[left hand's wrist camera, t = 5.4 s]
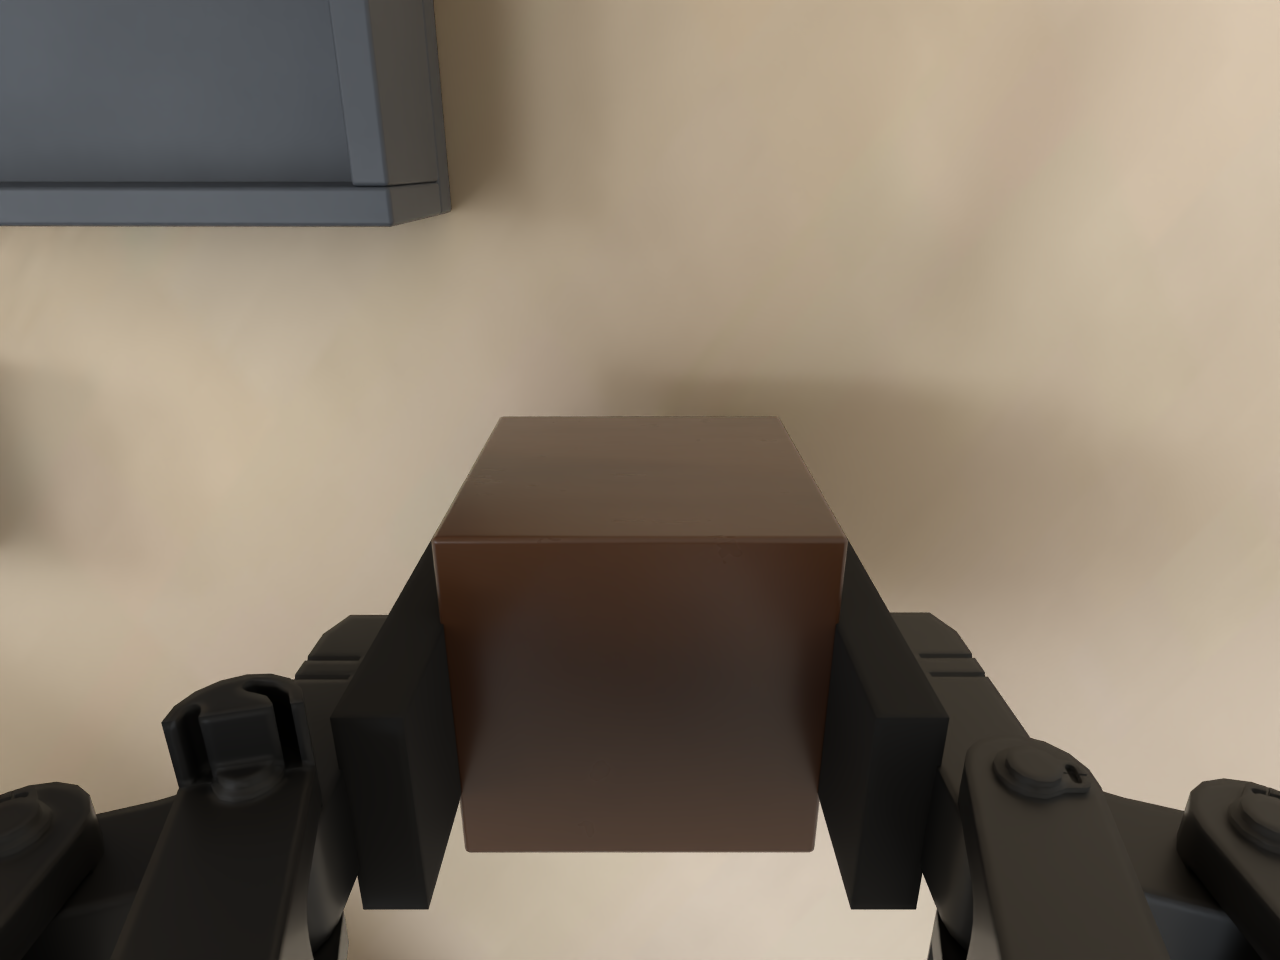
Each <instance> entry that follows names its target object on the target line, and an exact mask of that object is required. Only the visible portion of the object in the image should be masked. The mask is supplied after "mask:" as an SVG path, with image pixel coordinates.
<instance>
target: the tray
mask: <svg viewBox="0 0 1280 960" xmlns="http://www.w3.org/2000/svg"><path fill="white" fill-rule="evenodd" d="M450 211H451V200H450V189H449V177H448V166H447V154H446V143H445V131H444V120H443V108H442V97H441V85H440V74H439V62H438V51H437V39H436V28H435V16H434V5H433V0H0V226H257V227H391V226H395V225H399V224H403V223H407V222H412V221H416V220H420V219H424V218H428V217H432V216H436V215H440V214H444V213H448V212H450Z"/></svg>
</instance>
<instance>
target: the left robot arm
mask: <svg viewBox="0 0 1280 960" xmlns="http://www.w3.org/2000/svg"><path fill="white" fill-rule="evenodd" d="M841 529H842V528H841ZM845 536H846V535H845ZM846 538H847V537H846ZM847 540H848V539H847ZM161 723H162V727H163V730H164V734H165V738H166V741H167V745H168V749H169V753H170V756H171V760H172V764H173V767H174V771H175V775H176V778H177V782H178V786H179V790H178V792H177V795H175V796H171V797H168V798H164V799H161V800H158V801H154V802H149V803H145V804H140V805H136V806H131V807H127V808H122V809H118V810H114V811H109V812H105V813H100V814H96V813H95V810H94V807H93V804H92V801H91V798H90V795H89V794H88V793H86V792H85V791H84V790H83V789H82V788H80V787H79V786H78V785H73V784H67V783H61V782H52V783H45V784H37V785H29V786H26V787H23V788H20V789H16V790H14V791H10V792H7V793H5V794H2V795H0V960H347V954H348V944H349V941H348V934H347V927H346V921H345V916H344V911H343V910H344V907H345V905H346V902H347V900H348V897H349V895H350V892H351V890H352V887H353V885H354V882H355V880H356V877H357V876H358V881H359V887H360V893H361V898H362V904H363V909H429V905H430V902H431V898H432V895H433V891H434V888H435V885H436V881H437V878H438V874H439V871H440V867H441V864H442V860H443V857H444V853H445V850H446V846H447V843H448V839H449V836H450V832H451V829H452V825H453V822H454V818H455V815H456V811H457V808H458V805H459V801H460V798H461V794H462V792H461V783H460V774H459V764H458V755H457V746H456V737H455V727H454V718H453V709H452V700H451V690H450V681H449V672H448V663H447V653H446V644H445V635H444V626H443V624H441V622H440V614H439V605H438V596H437V587H436V578H435V569H434V560H433V551H432V540H431V541H430V543H429V545H428V547H427V548H426V550H425V552H424V554H423V555H422V557H421V559H420V561H419V562H418V564H417V566H416V568H415V569H414V571H413V573H412V575H411V576H410V578H409V580H408V582H407V583H406V585H405V587H404V589H403V590H402V592H401V594H400V596H399V597H398V599H397V601H396V603H395V604H394V606H393V608H392V610H391V611H390V613H389V615H350V616H348V617H347V618H345V619H344V620H343V621H341V622H340V623H338V624H337V625H335V626H334V627H333V628H331V629H330V630H328V631H327V632H326V633H324V634H323V635H322V637H321V638H320V640H319V641H318V642H317V644H316V645H315V647H314V648H313V650H312V651H311V653H310V654H309V655H308V661H304V663H303V664H302V666H301V667H300V669H299V670H298V671H297V673H296V674H295V680H291V679H290V678H286V677H282V676H278V675H274V674H248V675H243V676H239V677H234V678H230V679H226V680H221V681H219V682H216V683H214V684H212V685H210V686H207V687H205V688H203V689H200V690H198V691H196V692H194V693H193V694H191V695H190V696H188V697H187V698H185V699H184V700H183V701H181V702H180V703H178V704H177V705H175V706H174V707H173V709H172V710H171V711H170V712H169V714H168V715H167V716H166V717H165V719H164V720H163V721H162V722H161ZM818 796H819V800H820V803H821V807H822V810H823V814H824V817H825V820H826V824H827V827H828V831H829V834H830V838H831V841H832V845H833V848H834V852H835V855H836V859H837V862H838V866H839V869H840V873H841V876H842V880H843V883H844V887H845V890H846V894H847V897H848V900H849V904H850V907H851V909H916V906H917V901H918V895H919V889H920V883H921V878H922V873H923V875H924V878H925V880H926V882H927V885H928V887H929V890H930V892H931V895H932V897H933V900H934V902H935V905H936V907H937V911H936V916H935V921H934V926H933V932H932V937H931V942H930V948H929V953H928V958H927V960H1280V791H1277V790H1275V789H1272V788H1268V787H1266V786H1262V785H1259V784H1256V783H1253V782H1247V781H1239V780H1232V779H1224V778H1223V779H1217V780H1211V781H1204V782H1202V783H1200V784H1199V785H1198V786H1197V787H1196V788H1195V789H1193V790H1192V791H1191V792H1190V795H1189V799H1188V802H1187V805H1186V808H1185V811H1181V810H1177V809H1172V808H1168V807H1163V806H1159V805H1154V804H1150V803H1145V802H1141V801H1136V800H1132V799H1127V798H1123V797H1120V796H1116V795H1113V794H1110V793H1106V792H1103V791H1102V788H1101V786H1100V785H1099V783H1098V782H1097V780H1096V779H1095V778H1094V776H1093V775H1092V773H1091V772H1090V770H1089V769H1088V768H1087V767H1085V766H1084V765H1083V764H1082V763H1080V762H1079V761H1078V760H1077V759H1075V758H1074V757H1073V756H1072V755H1070V754H1069V753H1067V752H1065V751H1063V750H1061V749H1059V748H1057V747H1055V746H1052V745H1050V744H1048V743H1046V742H1044V741H1040V740H1036V739H1032V738H1030V737H1029V735H1028V734H1027V732H1026V731H1025V729H1024V728H1023V727H1022V725H1021V724H1020V722H1019V721H1018V719H1017V718H1016V716H1015V715H1014V714H1013V712H1012V711H1011V709H1010V708H1009V706H1008V705H1007V704H1006V702H1005V701H1004V699H1003V698H1002V696H1001V695H1000V693H999V692H998V691H997V689H996V688H995V686H994V685H993V683H992V682H991V680H990V679H989V678H988V677H985V672H984V670H983V669H982V668H981V666H980V665H979V663H978V662H977V660H976V659H975V658H972V653H971V652H970V650H969V649H968V647H967V646H966V644H965V643H964V642H963V640H962V639H961V637H960V636H959V634H958V633H957V632H956V631H955V630H954V629H952V628H951V627H949V626H948V625H946V624H945V623H944V622H942V621H941V620H939V619H938V618H936V617H935V616H934V615H932V614H931V613H890V612H889V611H888V609H887V607H886V605H885V604H884V602H883V600H882V598H881V597H880V595H879V593H878V591H877V590H876V588H875V586H874V584H873V583H872V581H871V579H870V577H869V576H868V574H867V572H866V570H865V569H864V567H863V565H862V563H861V562H860V560H859V558H858V556H857V555H856V553H855V551H854V549H853V548H852V546H851V544H850V542H849V541H848V544H847V553H846V562H845V572H844V581H843V590H842V599H841V608H840V617H839V623H838V624H836V629H835V638H834V647H833V656H832V666H831V675H830V684H829V694H828V703H827V712H826V721H825V731H824V740H823V749H822V759H821V768H820V777H819V786H818Z"/></svg>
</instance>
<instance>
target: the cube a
mask: <svg viewBox="0 0 1280 960" xmlns="http://www.w3.org/2000/svg"><path fill="white" fill-rule="evenodd" d="M847 544H848V540H847V538H846V536H845V534H844V532H843V530H842V529H841V527H840V525H839V523H838V521H837V520H836V518H835V516H834V514H833V513H832V511H831V509H830V507H829V505H828V504H827V502H826V500H825V498H824V497H823V495H822V493H821V491H820V489H819V488H818V486H817V484H816V482H815V481H814V479H813V477H812V475H811V474H810V472H809V470H808V468H807V466H806V465H805V463H804V461H803V459H802V458H801V456H800V454H799V452H798V450H797V449H796V447H795V445H794V443H793V442H792V440H791V438H790V436H789V434H788V433H787V431H786V429H785V427H784V426H783V424H782V422H781V420H780V418H778V417H501V418H500V419H499V421H498V423H497V424H496V426H495V428H494V430H493V432H492V433H491V435H490V437H489V439H488V440H487V442H486V444H485V446H484V448H483V449H482V451H481V453H480V455H479V456H478V458H477V460H476V462H475V463H474V465H473V467H472V469H471V471H470V472H469V474H468V476H467V478H466V479H465V481H464V483H463V485H462V487H461V488H460V490H459V492H458V494H457V495H456V497H455V499H454V501H453V503H452V504H451V506H450V508H449V510H448V511H447V513H446V515H445V517H444V518H443V520H442V522H441V524H440V526H439V527H438V529H437V531H436V533H435V534H434V536H433V538H432V551H433V560H434V569H435V578H436V587H437V596H438V605H439V614H440V622H441V624H443V626H444V635H445V644H446V653H447V663H448V672H449V681H450V690H451V700H452V709H453V718H454V727H455V737H456V746H457V755H458V764H459V774H460V783H461V792H462V794H461V798H460V806H461V815H462V824H463V833H464V843H465V849H466V851H468V852H812V851H813V850H814V846H815V837H816V828H817V819H818V810H819V801H820V800H819V796H818V786H819V777H820V768H821V759H822V749H823V740H824V731H825V721H826V712H827V703H828V694H829V684H830V675H831V666H832V656H833V647H834V638H835V629H836V624H838V623H839V617H840V608H841V599H842V590H843V581H844V572H845V562H846V553H847Z"/></svg>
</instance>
